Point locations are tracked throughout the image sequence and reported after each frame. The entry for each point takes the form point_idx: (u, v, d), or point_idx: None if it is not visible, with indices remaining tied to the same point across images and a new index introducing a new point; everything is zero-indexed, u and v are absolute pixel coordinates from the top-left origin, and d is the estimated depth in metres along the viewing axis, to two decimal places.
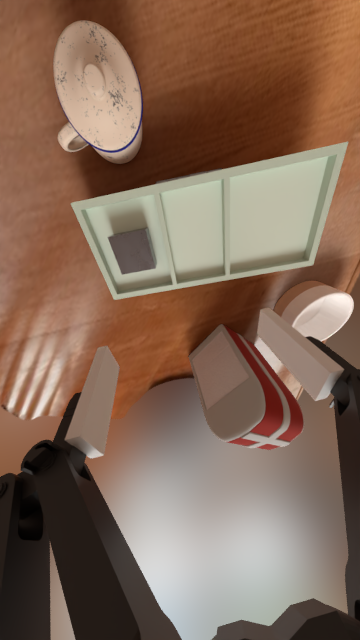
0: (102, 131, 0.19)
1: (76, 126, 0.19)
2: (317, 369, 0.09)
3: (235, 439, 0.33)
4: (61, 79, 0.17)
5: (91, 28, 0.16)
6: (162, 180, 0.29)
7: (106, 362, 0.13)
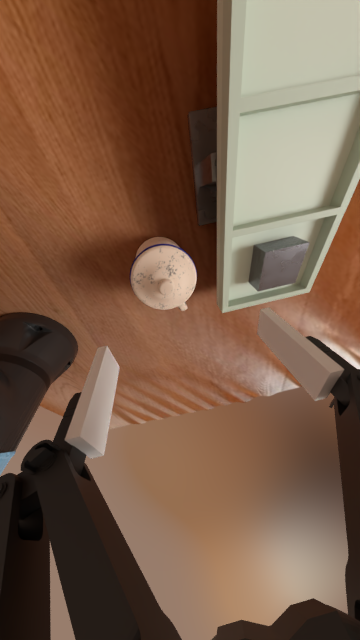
0: (186, 283, 0.23)
1: (184, 301, 0.24)
2: (317, 369, 0.09)
3: None
4: (161, 306, 0.24)
5: (134, 281, 0.22)
6: (198, 216, 0.26)
7: (106, 362, 0.13)
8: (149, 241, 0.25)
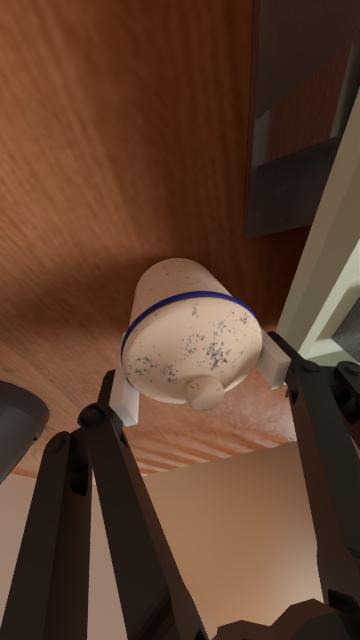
0: None
1: None
2: (270, 360, 0.10)
3: None
4: None
5: (130, 367, 0.10)
6: (248, 223, 0.14)
7: None
8: (161, 270, 0.13)
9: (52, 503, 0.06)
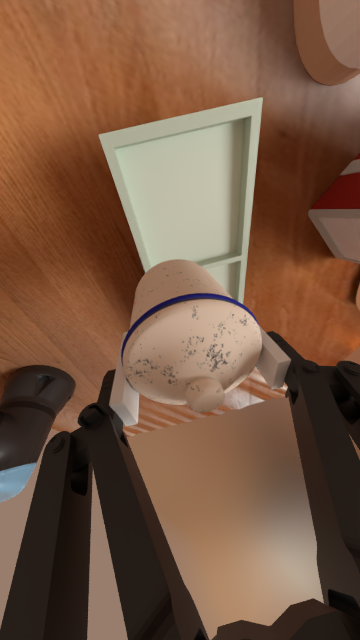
0: (241, 367, 0.11)
1: None
2: (270, 360, 0.10)
3: None
4: None
5: (130, 369, 0.10)
6: None
7: None
8: (161, 271, 0.13)
9: (52, 503, 0.06)
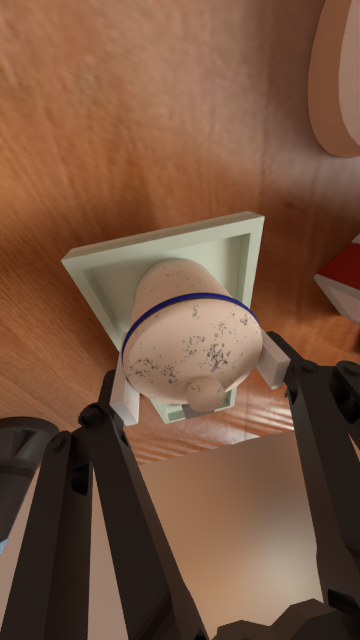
0: None
1: (228, 390, 0.12)
2: (270, 360, 0.10)
3: None
4: None
5: (130, 368, 0.10)
6: None
7: None
8: (161, 271, 0.13)
9: (53, 502, 0.06)
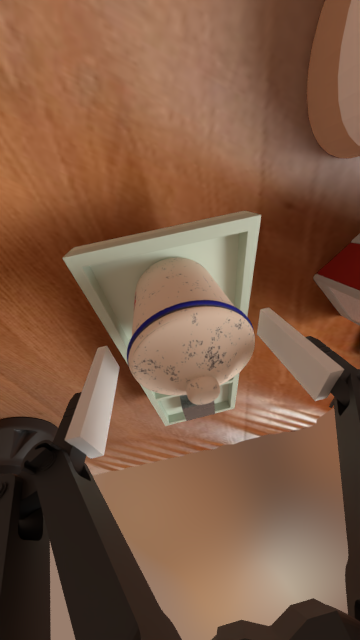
0: None
1: None
2: (317, 369, 0.09)
3: None
4: None
5: (135, 367, 0.11)
6: None
7: (106, 362, 0.13)
8: (161, 272, 0.14)
9: None
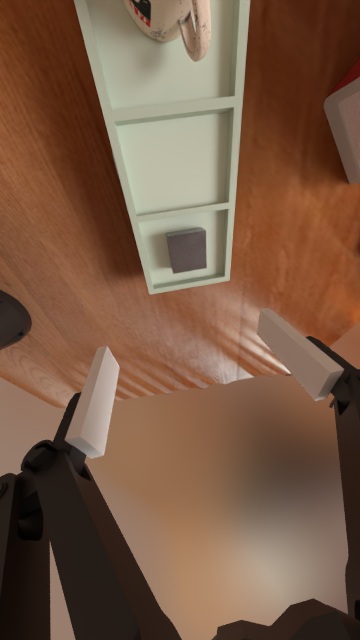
0: None
1: None
2: (317, 369, 0.09)
3: None
4: None
5: None
6: None
7: (106, 362, 0.13)
8: None
9: None
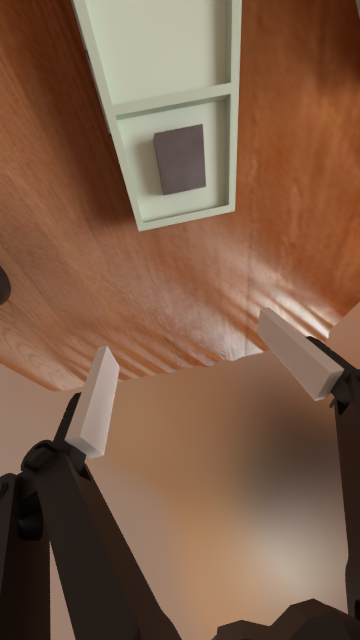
0: None
1: None
2: (317, 369, 0.09)
3: None
4: None
5: None
6: (105, 121, 0.25)
7: (106, 362, 0.13)
8: None
9: None
